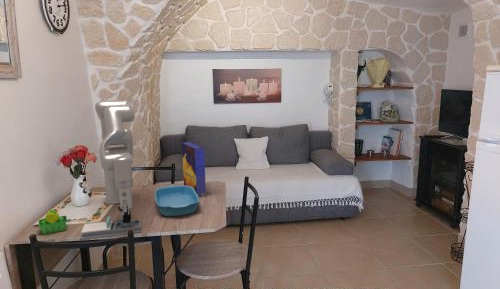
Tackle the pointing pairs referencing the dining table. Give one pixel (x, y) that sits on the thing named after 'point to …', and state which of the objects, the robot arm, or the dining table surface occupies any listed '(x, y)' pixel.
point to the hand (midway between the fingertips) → (127, 220)
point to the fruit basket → (52, 222)
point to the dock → (114, 230)
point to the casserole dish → (176, 200)
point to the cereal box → (194, 167)
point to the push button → (122, 218)
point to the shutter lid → (97, 226)
